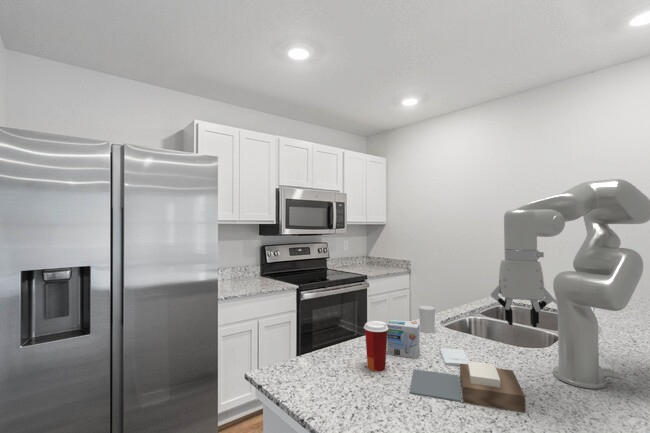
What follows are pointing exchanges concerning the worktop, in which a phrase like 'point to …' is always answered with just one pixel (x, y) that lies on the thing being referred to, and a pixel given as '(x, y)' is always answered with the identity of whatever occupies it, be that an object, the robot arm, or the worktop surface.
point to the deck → (494, 391)
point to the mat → (435, 385)
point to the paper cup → (376, 345)
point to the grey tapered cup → (427, 319)
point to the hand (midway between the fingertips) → (521, 324)
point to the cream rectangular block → (483, 374)
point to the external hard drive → (454, 356)
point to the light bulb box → (403, 338)
